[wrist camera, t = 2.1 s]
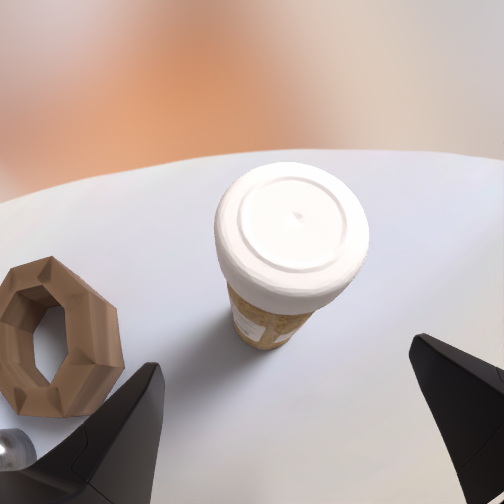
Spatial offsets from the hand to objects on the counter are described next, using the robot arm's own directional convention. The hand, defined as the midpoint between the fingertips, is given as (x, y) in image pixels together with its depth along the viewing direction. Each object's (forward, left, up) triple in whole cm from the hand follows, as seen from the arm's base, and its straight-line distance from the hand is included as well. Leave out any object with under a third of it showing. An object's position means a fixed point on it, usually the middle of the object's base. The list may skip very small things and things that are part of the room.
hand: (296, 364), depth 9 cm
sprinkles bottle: (+3, +2, -11) cm, 11 cm away
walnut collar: (-8, +14, -11) cm, 19 cm away
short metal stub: (-20, +13, -11) cm, 26 cm away
